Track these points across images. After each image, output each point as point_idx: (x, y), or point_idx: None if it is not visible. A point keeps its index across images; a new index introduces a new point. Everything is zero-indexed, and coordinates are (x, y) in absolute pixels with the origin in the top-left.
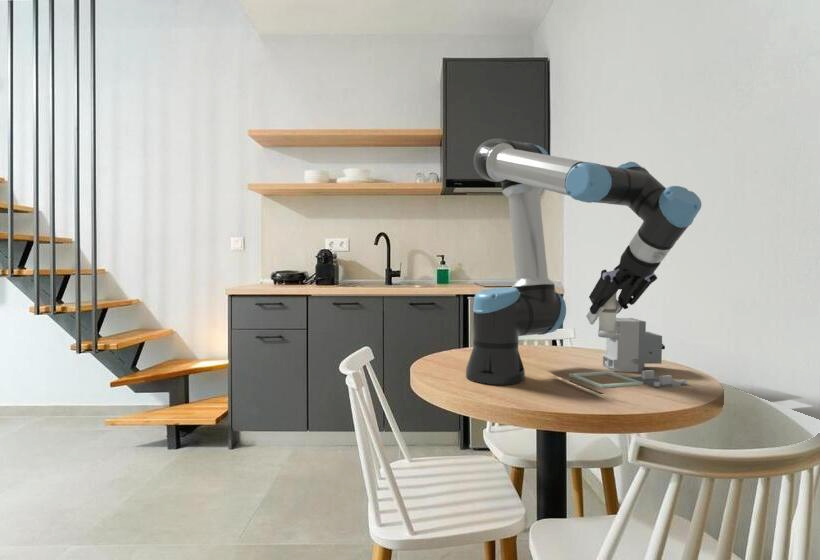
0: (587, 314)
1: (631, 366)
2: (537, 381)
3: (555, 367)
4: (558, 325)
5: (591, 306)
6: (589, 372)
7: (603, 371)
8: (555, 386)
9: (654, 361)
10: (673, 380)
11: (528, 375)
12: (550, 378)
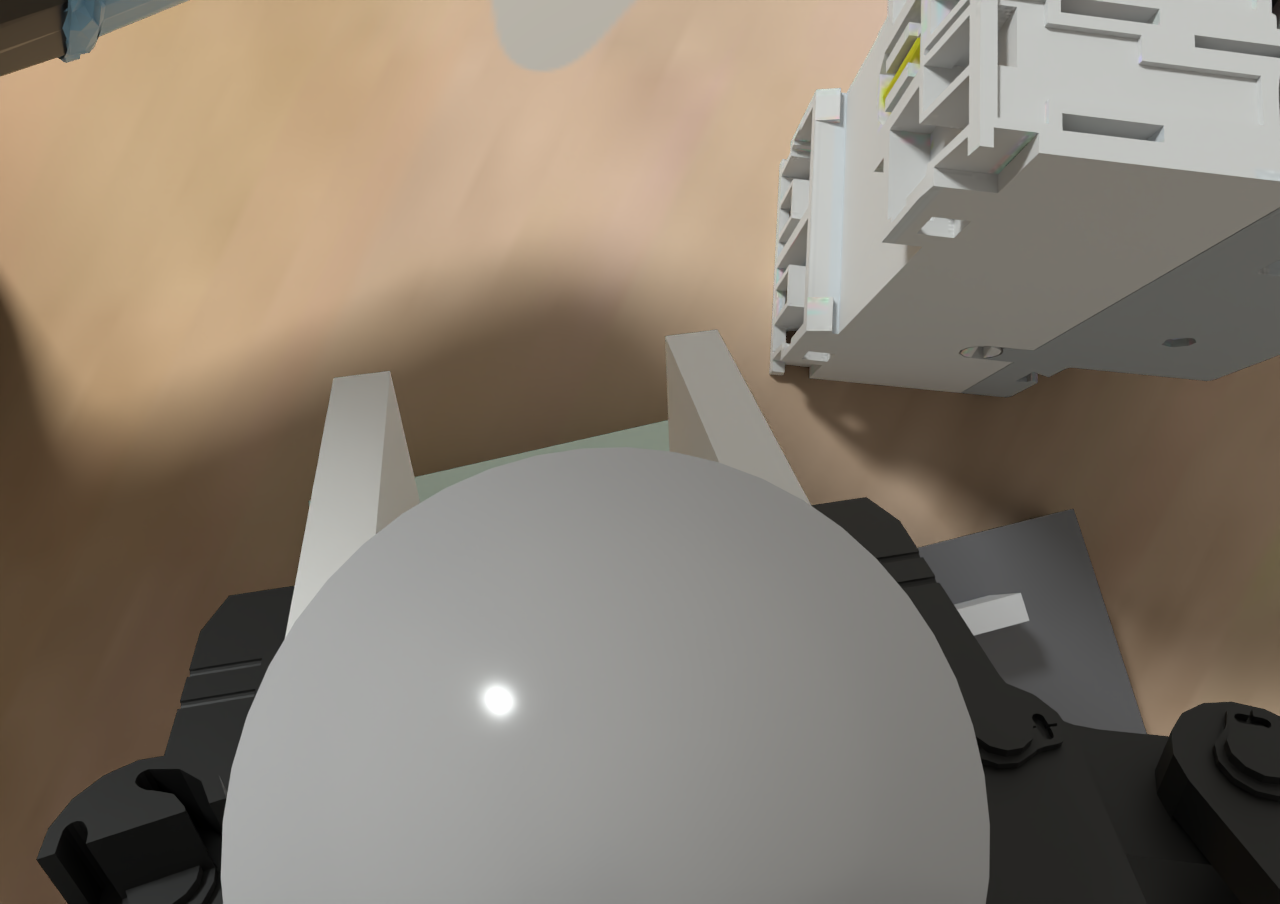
0: (328, 409)
1: (943, 364)
2: (53, 490)
3: (432, 35)
4: (170, 5)
5: (187, 703)
6: (519, 455)
7: (661, 425)
8: (137, 657)
9: (1164, 368)
10: (1120, 686)
11: (65, 288)
12: (216, 396)
